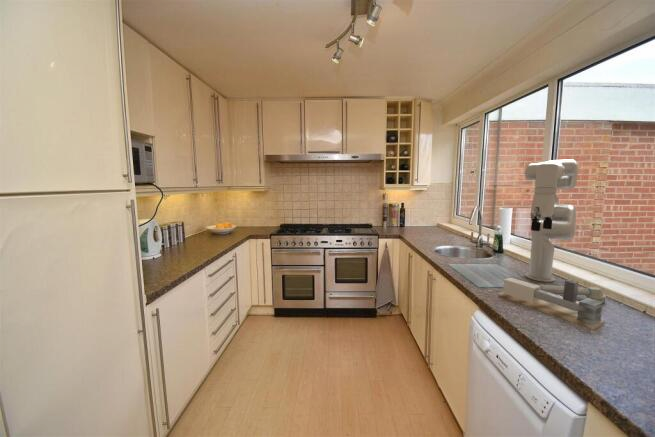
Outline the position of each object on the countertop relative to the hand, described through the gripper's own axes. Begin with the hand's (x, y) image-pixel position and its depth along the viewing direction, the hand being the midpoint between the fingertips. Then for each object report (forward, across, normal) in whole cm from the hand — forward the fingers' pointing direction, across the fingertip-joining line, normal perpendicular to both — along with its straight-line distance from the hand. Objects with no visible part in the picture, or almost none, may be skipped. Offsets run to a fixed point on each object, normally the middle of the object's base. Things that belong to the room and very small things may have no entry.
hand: (541, 229), depth 120 cm
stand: (+30, +12, +9) cm, 34 cm away
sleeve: (+29, +12, 0) cm, 32 cm away
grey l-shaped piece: (+27, +12, +14) cm, 32 cm away
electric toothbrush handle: (+31, -9, +8) cm, 33 cm away
